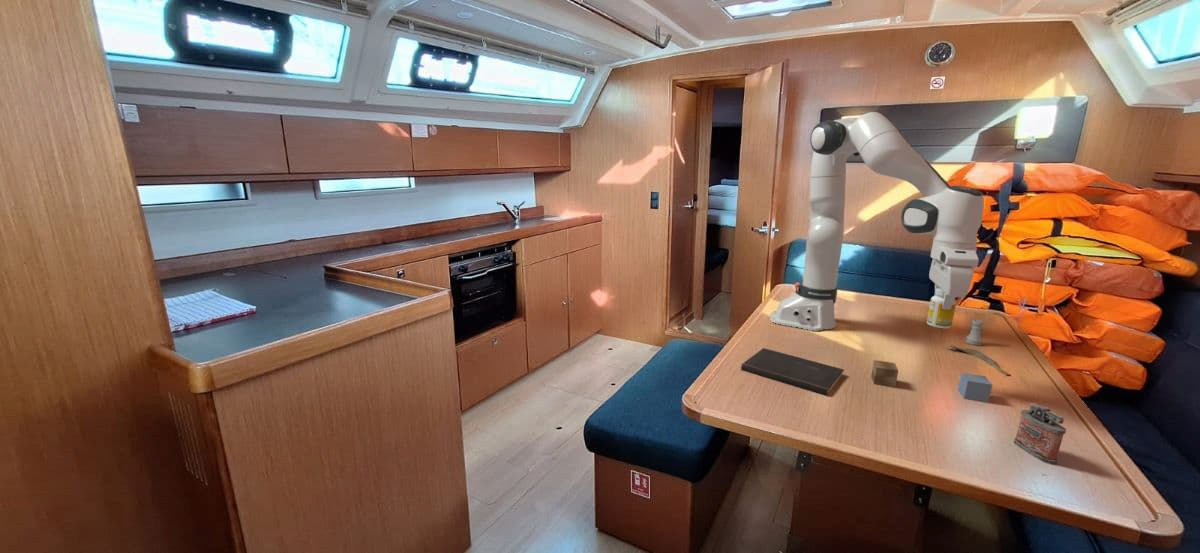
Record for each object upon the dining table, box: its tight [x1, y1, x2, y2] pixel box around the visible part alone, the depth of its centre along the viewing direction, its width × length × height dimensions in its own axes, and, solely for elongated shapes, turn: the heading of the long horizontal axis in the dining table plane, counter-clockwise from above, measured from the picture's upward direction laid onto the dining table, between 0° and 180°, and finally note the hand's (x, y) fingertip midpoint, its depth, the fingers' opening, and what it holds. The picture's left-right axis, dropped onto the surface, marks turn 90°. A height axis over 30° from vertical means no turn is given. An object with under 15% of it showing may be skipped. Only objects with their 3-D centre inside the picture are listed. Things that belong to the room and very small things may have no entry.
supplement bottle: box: [926, 288, 957, 329], centre depth 122 cm, size 5×5×10 cm
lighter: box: [1013, 402, 1067, 465], centre depth 96 cm, size 8×3×10 cm, turn 5°
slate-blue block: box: [957, 372, 993, 403], centre depth 120 cm, size 5×5×5 cm
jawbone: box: [943, 344, 1012, 377], centre depth 142 cm, size 9×20×2 cm, turn 13°
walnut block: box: [870, 359, 899, 388], centre depth 127 cm, size 5×5×5 cm
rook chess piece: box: [964, 318, 985, 346], centre depth 154 cm, size 4×4×8 cm
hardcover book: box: [740, 347, 845, 397], centre depth 133 cm, size 16×23×2 cm
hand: (942, 304), depth 122 cm, fingers closed on supplement bottle, 5 cm apart
